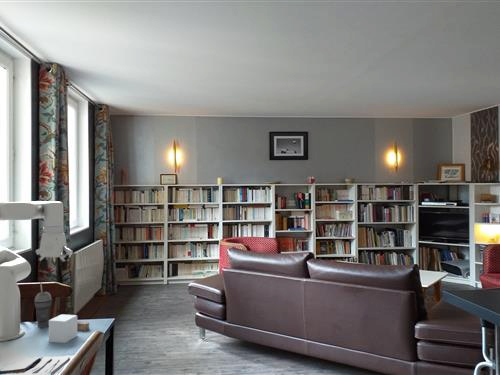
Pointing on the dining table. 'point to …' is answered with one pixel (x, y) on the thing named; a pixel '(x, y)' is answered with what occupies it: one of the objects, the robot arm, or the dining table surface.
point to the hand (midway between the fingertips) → (54, 269)
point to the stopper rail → (82, 326)
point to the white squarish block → (62, 328)
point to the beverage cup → (43, 307)
